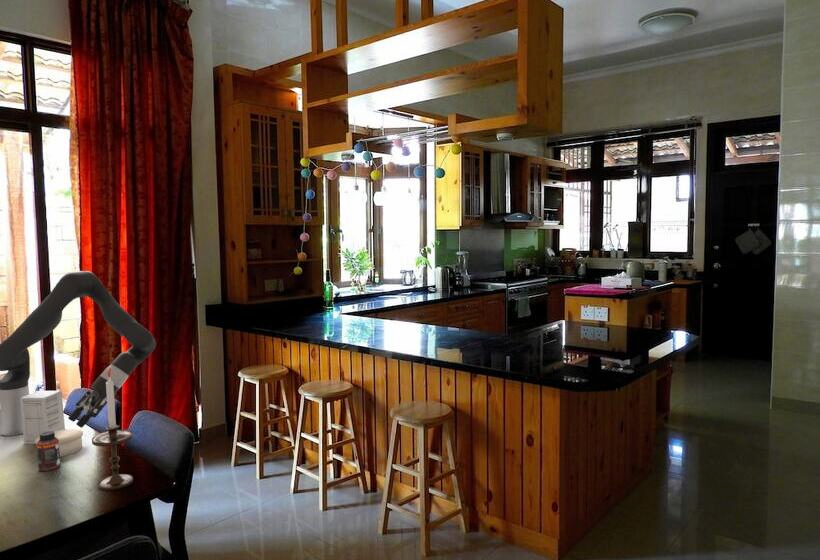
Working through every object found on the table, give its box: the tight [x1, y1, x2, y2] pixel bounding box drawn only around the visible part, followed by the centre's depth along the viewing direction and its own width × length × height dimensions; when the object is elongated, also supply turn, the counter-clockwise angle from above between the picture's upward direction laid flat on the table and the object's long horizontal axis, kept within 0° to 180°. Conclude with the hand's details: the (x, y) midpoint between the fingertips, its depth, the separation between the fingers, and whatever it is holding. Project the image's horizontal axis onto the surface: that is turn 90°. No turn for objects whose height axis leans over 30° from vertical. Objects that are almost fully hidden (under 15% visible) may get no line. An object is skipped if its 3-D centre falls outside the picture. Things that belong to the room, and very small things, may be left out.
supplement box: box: [20, 390, 66, 445], centre depth 207 cm, size 10×9×17 cm
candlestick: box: [91, 366, 135, 492], centre depth 168 cm, size 11×11×35 cm
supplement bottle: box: [36, 431, 61, 472], centre depth 182 cm, size 6×6×11 cm
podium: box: [35, 428, 84, 458], centre depth 196 cm, size 14×14×5 cm
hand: (74, 423), depth 187 cm, fingers open, 8 cm apart
